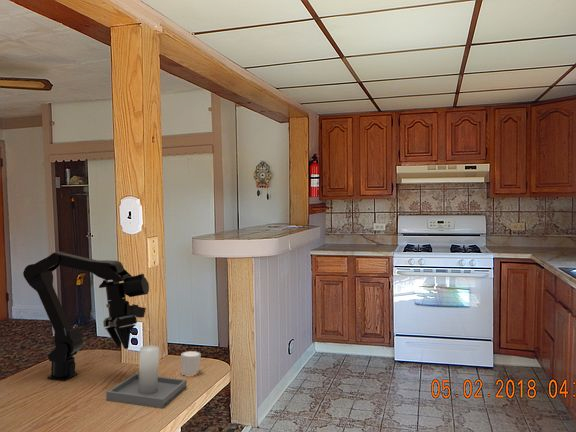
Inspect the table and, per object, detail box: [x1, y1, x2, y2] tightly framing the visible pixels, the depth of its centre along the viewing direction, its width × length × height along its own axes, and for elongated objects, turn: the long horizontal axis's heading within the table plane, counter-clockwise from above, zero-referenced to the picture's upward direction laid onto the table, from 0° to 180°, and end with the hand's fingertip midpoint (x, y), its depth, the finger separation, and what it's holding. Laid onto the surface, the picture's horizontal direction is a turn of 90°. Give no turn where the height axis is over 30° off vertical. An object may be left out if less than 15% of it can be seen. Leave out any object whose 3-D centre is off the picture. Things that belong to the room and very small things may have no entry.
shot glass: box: [180, 350, 202, 376], centre depth 160 cm, size 7×7×7 cm
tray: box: [105, 373, 187, 409], centre depth 141 cm, size 18×16×2 cm
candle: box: [138, 345, 160, 394], centre depth 141 cm, size 6×6×13 cm
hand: (122, 347), depth 149 cm, fingers open, 9 cm apart
